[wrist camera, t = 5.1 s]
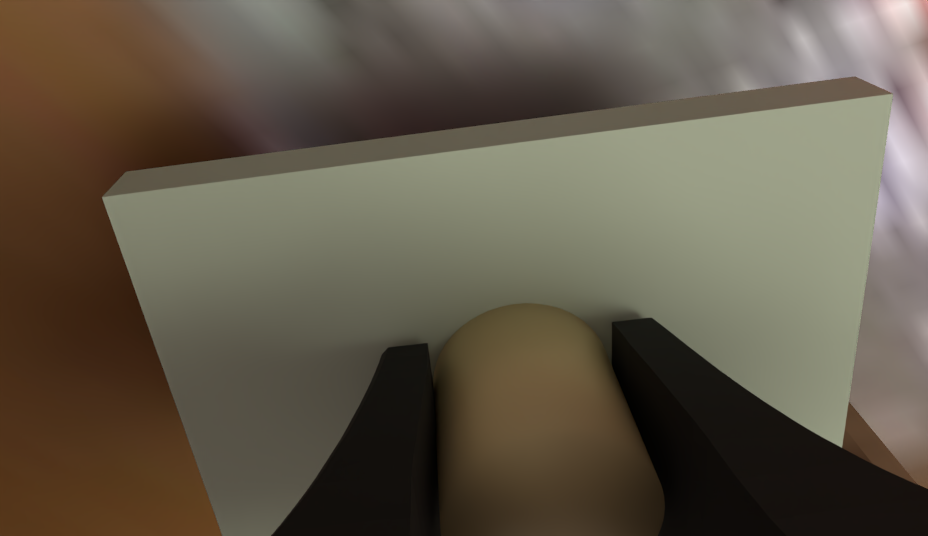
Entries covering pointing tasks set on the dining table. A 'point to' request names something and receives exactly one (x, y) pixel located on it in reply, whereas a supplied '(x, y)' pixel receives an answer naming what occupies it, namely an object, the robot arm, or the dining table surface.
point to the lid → (508, 292)
